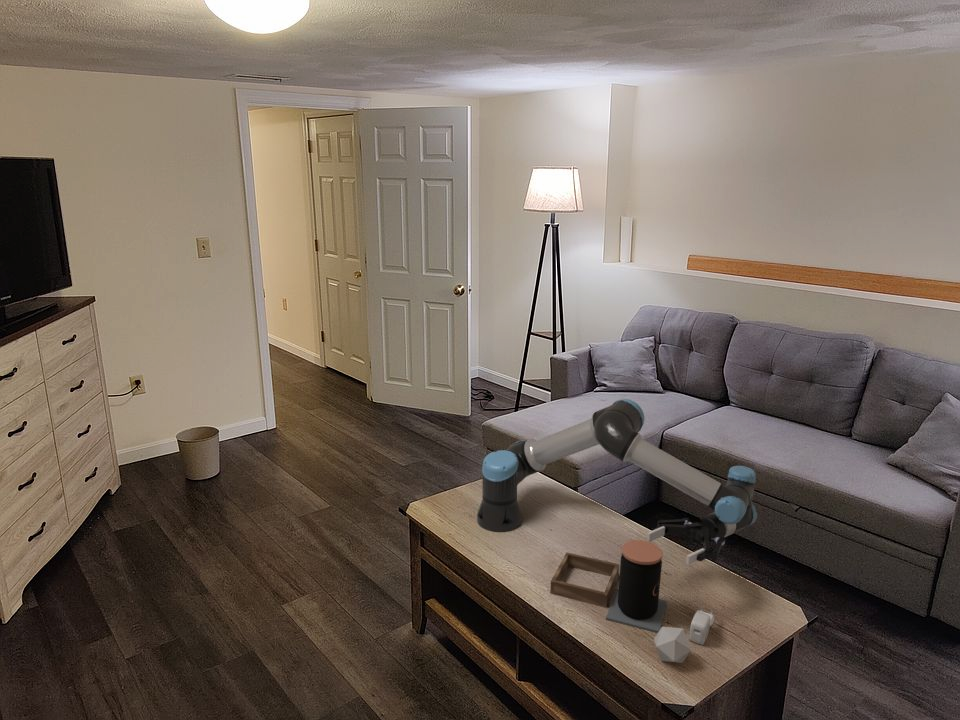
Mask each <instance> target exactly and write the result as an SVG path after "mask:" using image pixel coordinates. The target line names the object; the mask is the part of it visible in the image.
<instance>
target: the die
mask: <svg viewBox="0 0 960 720" xmlns="http://www.w3.org/2000/svg"><path fill="white" fill-rule="evenodd" d="M653 642H654V645H655V648H656V650H657V654H658V656H659V658H660V661H661V662H669V663H678V664H683V662H684V661H685V660H686V658H687V657H688V655H689V654H690V652H691V651H692V649H691V645H690V643H689V640H688V638H687V635H686V632H685V629H684V628H681V627H671V626H661V629H660V631H659V632H658V633H657V634H656V635H655V636H654V638H653Z"/></svg>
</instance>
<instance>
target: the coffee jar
mask: <svg viewBox="0 0 960 720" xmlns="http://www.w3.org/2000/svg"><path fill="white" fill-rule="evenodd" d="M663 554H664V553H663V550H662V548H661V547H659V545H657V544H655V543H653V542H652V541H651V542H648V541H647V540H642V539H635V540H629V541H626V542H624V544H622V547H621V556H620V562H619V563H620V564H619V576H618V579H619V580H618V589H619V590H618V606H619V608H620V610H621V611H622V612H623V613H624V614H625V615H626V616H628V617H630V618H633V619H637V620H644V619H649V618H651V617H652V616H653V615H654V614H655V613H656V612H657V609H658V600H659V599H660V588H661V587H660V585H661V580H662V579H661V576H662V566H663V560H662V559H663V556H664V555H663Z"/></svg>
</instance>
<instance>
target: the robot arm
mask: <svg viewBox="0 0 960 720" xmlns="http://www.w3.org/2000/svg"><path fill="white" fill-rule="evenodd" d="M644 424H645V413H644V411H643V409H642V407H641V405H639V404H638V403H637V402H635V401H634V400H631V399H628V398H622V399H621V398H620V399H617V400H615V401H614V402H613V403H612V404H610V405H608V406H606V407H604V408H601V409H598V410H596V411H594V412H593V413H592V415H591V418H589V419H587V420H585V421H582V422H579V423H577V424H575V425H574V424H573V426H570V427H567V428H565V429H562V430H560V431H558V432H555V433H553V434H550V435H547V436H545V437H542V438H540V439H538V440H536V439H534V438H528V439H522V440H518V441H516V442H514V443H512V444H511V445H509V447H507V448H506V449H505V450H502V449H501V450H496V451H492V452H490V453H488V454H487V455H486V456H485V457H484V459H483V461H482V467H481V470H482V471H481V472H482V487H481V488H482V494H481V495H482V499H481V502H480V506H479V508H478V510H477V514H476V515H477V516H476V522H477V523H478V525H479V526H480V527H481V528H483V529H484V530H487V531H491V532H498V533H499V532H501V533H502V532H508V531H513V530H515V529H517V528H518V527H520V526H521V524H522V519H523V518H522V517H523V516H522V510H521V508H520V504H519V502H518V485H519V484H520V483H521V482H523V481H524V480H525V479H526V478H527V477H529V476H531V475H533V474H536V473H539V472H542V471H544V469H546V466H547V464H550V463H553V462H556V461H558V460H562V459H564V458H567V457H569V456H571V455H575V454H577V453H580V452H583V451H585V450H589V449H591V448H593V447H595V446H598V445H599V446H601V448H602V449H604V450H605V451H606V452H607V453H609V454H610V455H611V456H613V457H614V458H616V459H618V460H620V461H621V462H623V463H626V462H630V463H631V464H633V465H635V466H637V467H638V468H641V469H642V470H644V471H645V472H647V473H649V474H651V475H653V476H654V477H656V478H657V479H658V478H659V479H660V480H662V481H664V482H666V483H667V484H669V485H670V486H672V487H673V488H675V489H677V490H679V491H681V492H682V493H684V494H686V495H688V496H690V497H692V498H693V499H695V500H696V501H698V502H700V503H702V504H704V505H705V506H707V507H708V508H710V509H712V510H714V512H712V513H709V514H707V515H705V516H703V517H701V518H700V519H699V520H698V521H697V522H691V521H690V518H689V517H684V518H677V519H662V520H657V525H656V527H655V528H653V529H652V530H650V531H648V532H647V535H646V541H648V542H651V543H652V542H653V541H655V540H657V539H660V538H662V537H664V536H665V534H666V535H667V534H668V535H681V536H684V537H688V538H693V539H695V540H696V541H698V542H702V546H703V547H702V548H700V549H697V550H695V551H693V552H691V553H689V554H688V555H686V560H685V565H686V566H690V565H692V564H695V563H696V562H697V563H698V562H702V561H704V560H709V559H710V560H711V561H712V562H717V560H718V558H719V554H720V552H721V549H723V548H724V547H725V546H726V545H725V543H726V538H727V537H729V536H731V535H733V534H735V533H737V532H739V531H741V530H744V529H747V528H749V527H750V526H751V525H753V524H754V523H755V522H756V521H757V518H758V512H757V509H756V508H757V507H755V505H754V504H753V498H754V492H755V487H756V486H755V485H756V483H757V482H756V478H757V477H756V476H757V475H756V471H755V470H753V469H752V468H750V467H747V466H743V465H734V466H732V467H730V468H729V470H728V474H727V482H726V484H723V483H721V482H719V481H717V480H715V479H714V478H712V477H710V476H708V475H707V474H705V473H703V472H702V471H700V470H698V469H697V468H694V467H692V466H690V465H689V464H687V463H686V462H684V461H682V460H680V459H678V458H676V457H675V456H673V455H671V454H669V453H668V452H666V451H664V450H663V449H660V447H657V446H656V445H653V444H652V443H651V442H648V441H646V440H645V439H643V438H642V435H641V433H639V432H640V431H641V430H642V428H643V426H644ZM710 543H711V544H712V543H714V544H715V545H714V549H713V551H711V549H712V547H711V545H710Z"/></svg>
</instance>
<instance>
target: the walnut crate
mask: <svg viewBox="0 0 960 720" xmlns="http://www.w3.org/2000/svg"><path fill="white" fill-rule="evenodd" d="M568 568H574V569H577V570H582V571H587V572H591V573H595V574H599V575H602V576H603V575H604V576H607V577H609V579H608V583H607V585H606V588H605V590H604V591H601V590H597V589H593V588H590V587H584V586H581V585H577V584H573V583H568V582H565V581H562V579H563V577H564V575H565V574H566V572H567V570H568ZM619 576H620V564H619V563H616V562H615V563H614V562H610V561H607V560H602V559H598V558H593V557H588V556H585V555H579V554H576V553H571V552H565V555H564V557H563V558H562V560H561V562H560V564H559V566H558V567H557V569H556V571H555V573H554V575H553V577H552V578H551V579H550V580H551V581H550V592H549V593H550V594H551V595H554V596H558V597H562V598H566V599H567V598H568V599H570V600H574V601H578V602H583V603H587V604H590V605H594V606H597V607H602V608H607V607H608V604H609V601H610V599H611V597H612V594H613V591H614V589H615V586H616V584H617V581H618V579H619Z"/></svg>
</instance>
